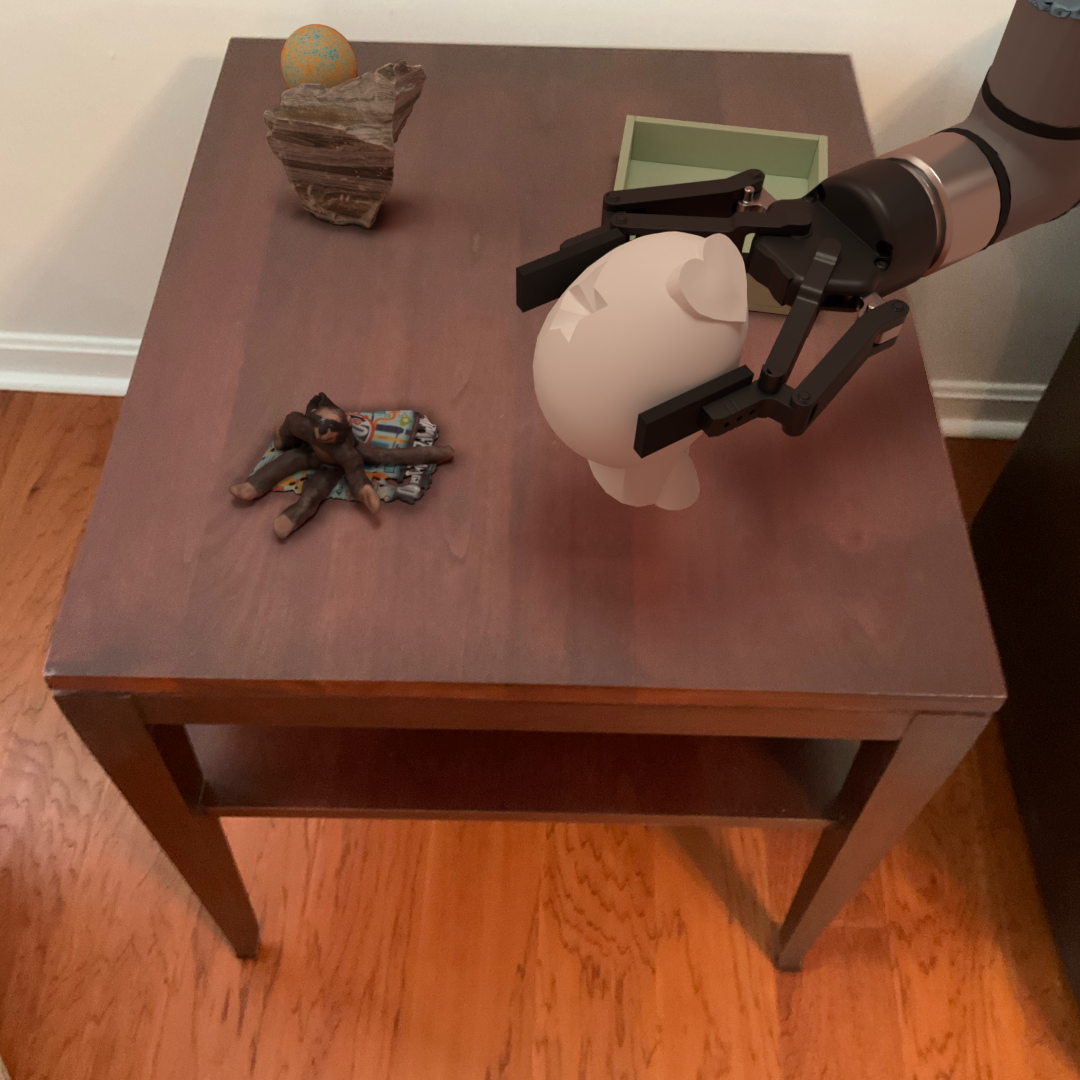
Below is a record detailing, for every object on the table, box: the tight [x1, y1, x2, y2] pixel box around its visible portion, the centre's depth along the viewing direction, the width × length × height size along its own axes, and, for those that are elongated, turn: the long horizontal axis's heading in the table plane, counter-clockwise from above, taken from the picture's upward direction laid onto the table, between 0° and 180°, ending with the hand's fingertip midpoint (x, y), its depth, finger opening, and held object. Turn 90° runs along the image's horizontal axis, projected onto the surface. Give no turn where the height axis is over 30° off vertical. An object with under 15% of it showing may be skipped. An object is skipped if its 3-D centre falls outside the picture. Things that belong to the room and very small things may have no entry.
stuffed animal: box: [228, 391, 455, 539], centre depth 74 cm, size 12×10×12 cm
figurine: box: [532, 231, 750, 511], centre depth 56 cm, size 11×11×15 cm
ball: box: [280, 23, 358, 89], centre depth 96 cm, size 7×7×7 cm
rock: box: [263, 58, 427, 230], centre depth 84 cm, size 13×6×15 cm, turn 72°
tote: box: [613, 114, 829, 316], centre depth 87 cm, size 18×18×5 cm
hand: (576, 360), depth 53 cm, fingers closed on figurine, 11 cm apart
